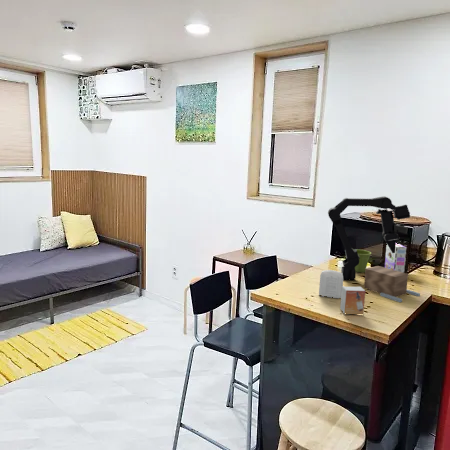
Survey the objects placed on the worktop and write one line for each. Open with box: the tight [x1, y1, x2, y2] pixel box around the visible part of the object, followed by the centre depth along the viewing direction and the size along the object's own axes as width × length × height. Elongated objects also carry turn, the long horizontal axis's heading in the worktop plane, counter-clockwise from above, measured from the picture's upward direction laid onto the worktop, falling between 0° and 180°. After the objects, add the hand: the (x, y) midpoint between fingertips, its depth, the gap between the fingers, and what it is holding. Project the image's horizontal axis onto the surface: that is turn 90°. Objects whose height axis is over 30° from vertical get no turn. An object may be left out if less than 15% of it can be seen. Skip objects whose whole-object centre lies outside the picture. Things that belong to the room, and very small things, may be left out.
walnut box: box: [363, 265, 409, 298], centre depth 186 cm, size 16×10×10 cm, turn 34°
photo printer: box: [318, 269, 344, 299], centre depth 177 cm, size 10×4×12 cm, turn 72°
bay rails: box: [379, 289, 421, 303], centre depth 181 cm, size 10×16×1 cm, turn 124°
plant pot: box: [355, 248, 372, 273], centre depth 220 cm, size 12×12×11 cm
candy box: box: [384, 242, 408, 273], centre depth 217 cm, size 14×6×16 cm, turn 179°
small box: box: [339, 285, 366, 315], centre depth 158 cm, size 8×6×10 cm
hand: (392, 251), depth 197 cm, fingers open, 9 cm apart
